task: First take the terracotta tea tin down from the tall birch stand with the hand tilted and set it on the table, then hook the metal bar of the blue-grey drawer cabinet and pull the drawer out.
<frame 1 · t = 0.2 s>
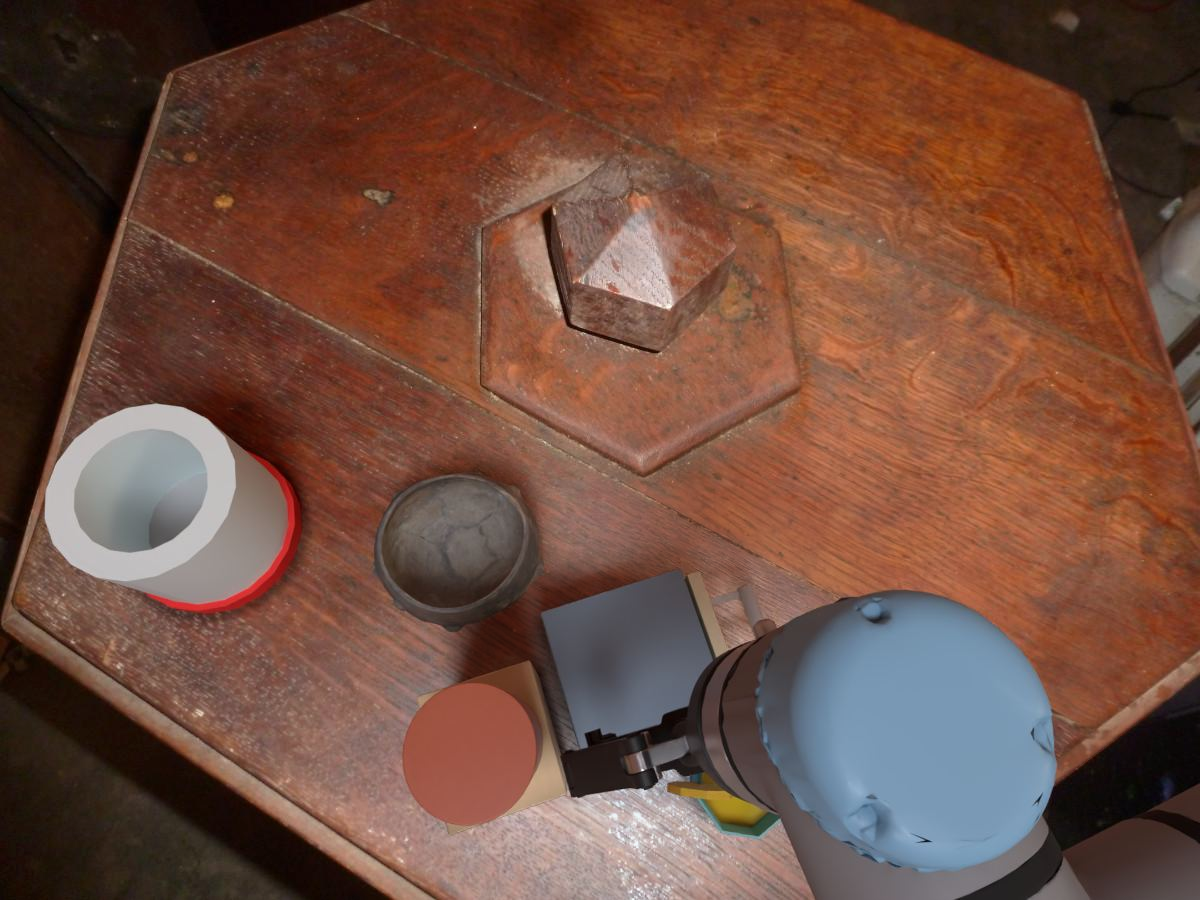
hand: (701, 723, 55), 18 cm above the table, tool pointing down, fingers open, 13 cm apart
drawer: (677, 644, 69), point 5 cm above the table, slide at 0.5 cm
stand: (510, 738, 71), on the table
cup: (727, 773, 71), on the table
bowl: (463, 562, 76), on the table
container: (219, 531, 76), on the table
cabinet: (624, 664, 73), on the table
tea tin: (490, 744, 52), point 20 cm above the table, touching stand
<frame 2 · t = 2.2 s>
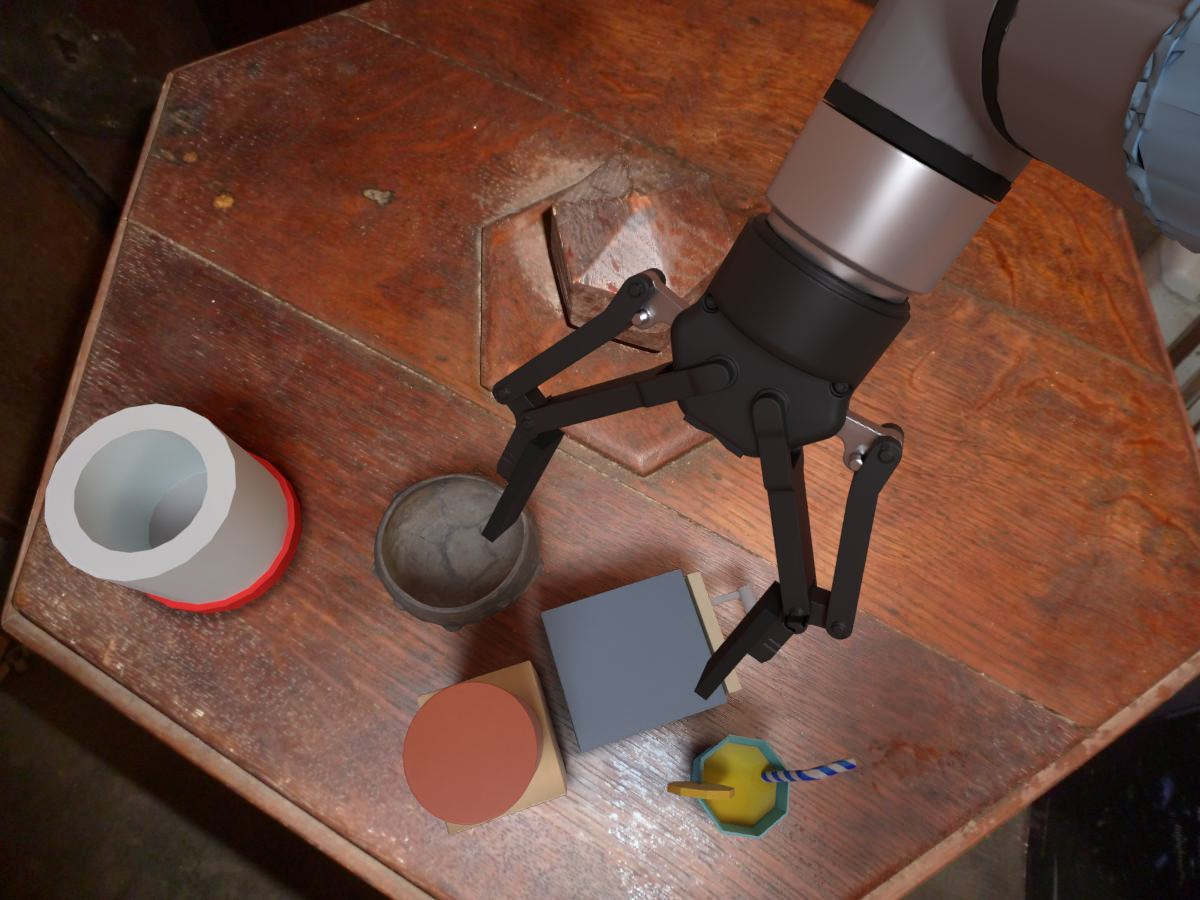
hand: (600, 602, 41), 34 cm above the table, tool tilted 45°, fingers open, 13 cm apart
nothing on the table moved.
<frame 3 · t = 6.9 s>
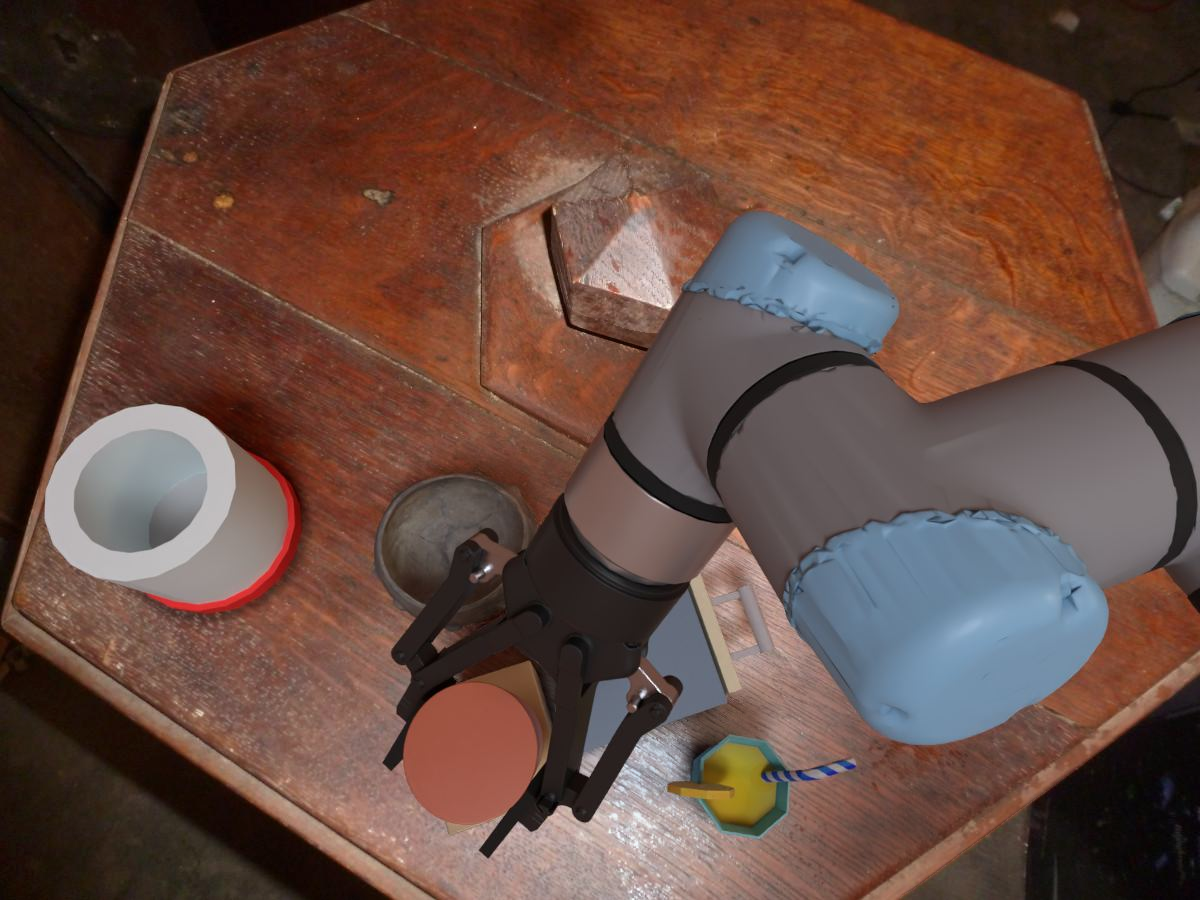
hand: (447, 794, 47), 24 cm above the table, tool tilted 45°, fingers closed on tea tin, 7 cm apart
tea tin: (491, 744, 52), point 20 cm above the table, touching gripper, stand
everything else where it was.
when the fingers open (4 cm above the table, at t = 21.4 s): tea tin stays where it is, on the table.
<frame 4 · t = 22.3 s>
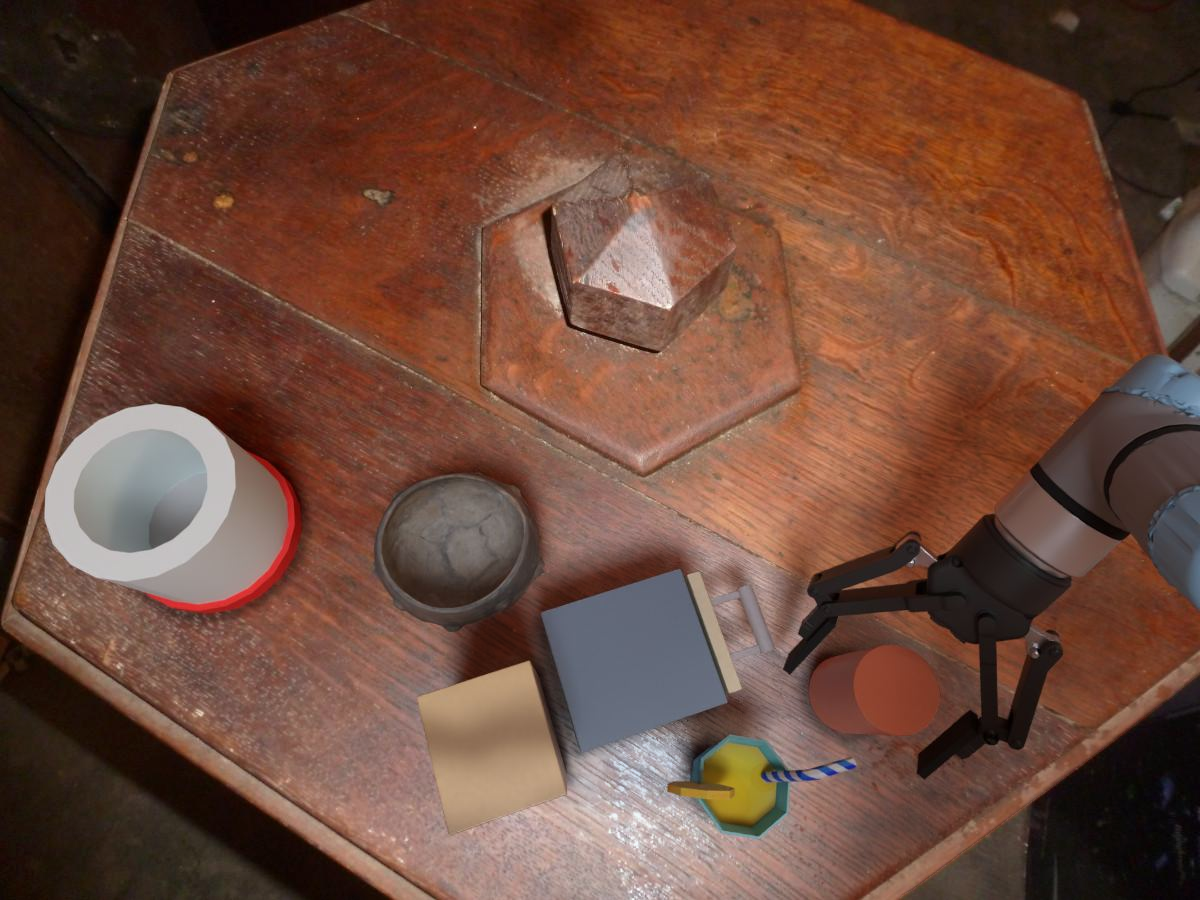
hand: (853, 714, 67), 6 cm above the table, tool tilted 45°, fingers open, 13 cm apart
tea tin: (845, 693, 73), on the table
everything else where it was.
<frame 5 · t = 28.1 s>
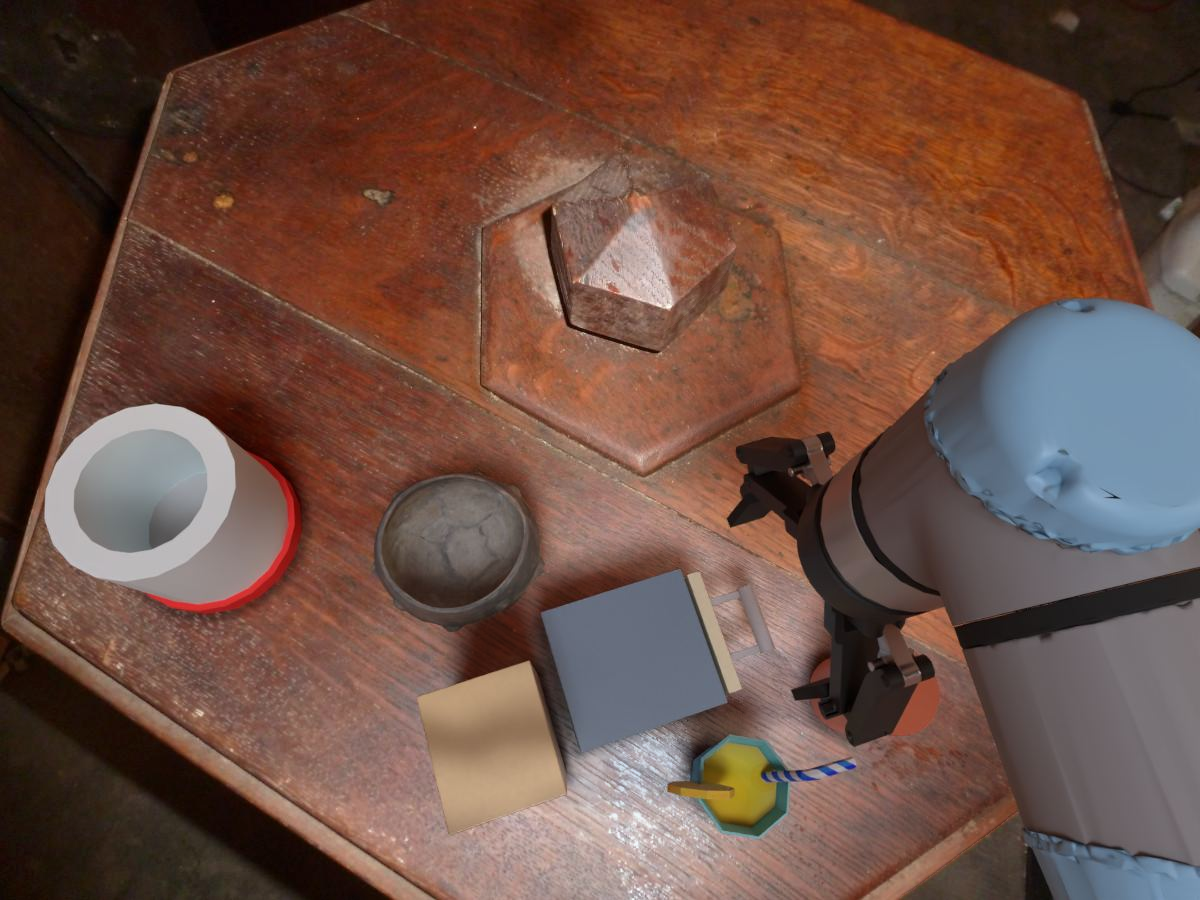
hand: (776, 600, 55), 20 cm above the table, tool pointing down, fingers open, 12 cm apart
nothing on the table moved.
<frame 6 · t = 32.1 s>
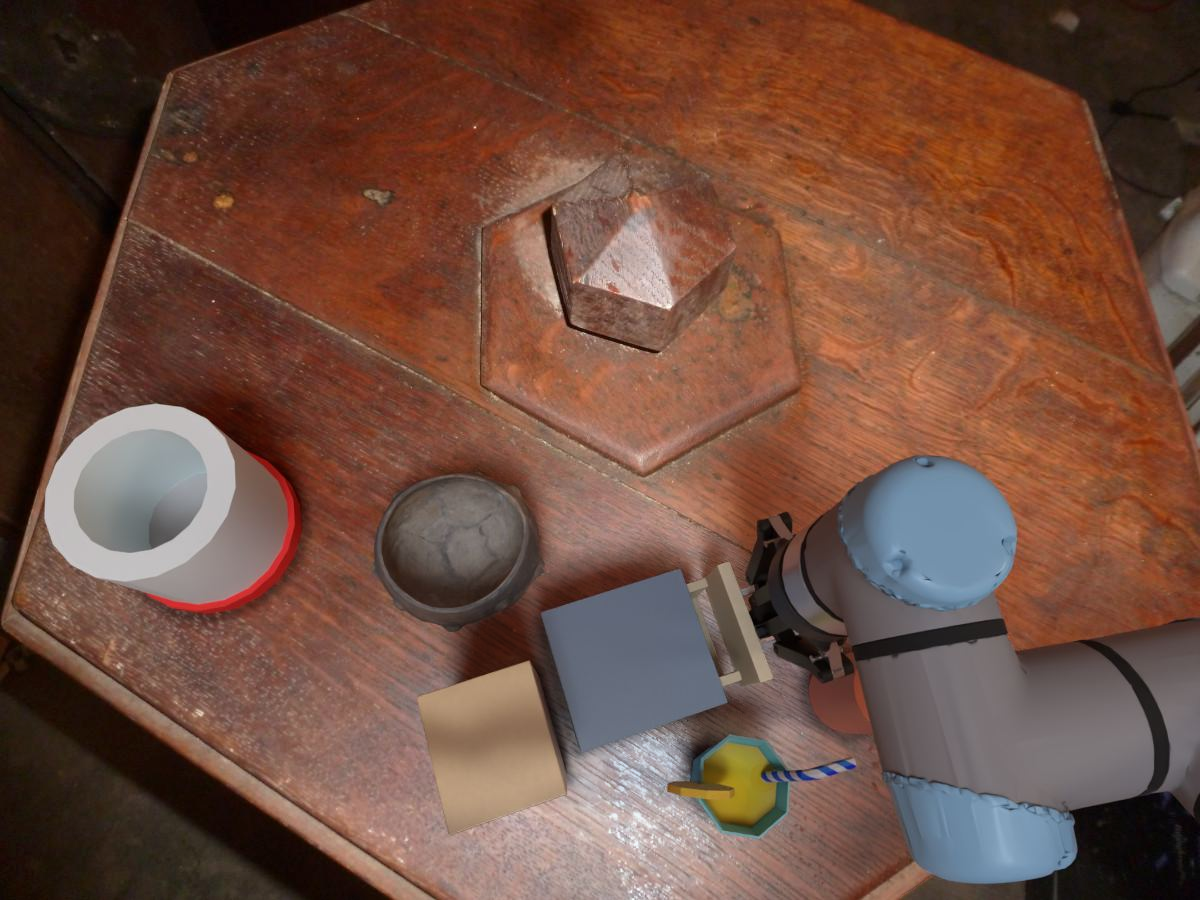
hand: (753, 620, 73), 2 cm above the table, tool pointing down, fingers closed
drawer: (706, 635, 70), point 5 cm above the table, slide at 3.3 cm, touching gripper
everything else where it was.
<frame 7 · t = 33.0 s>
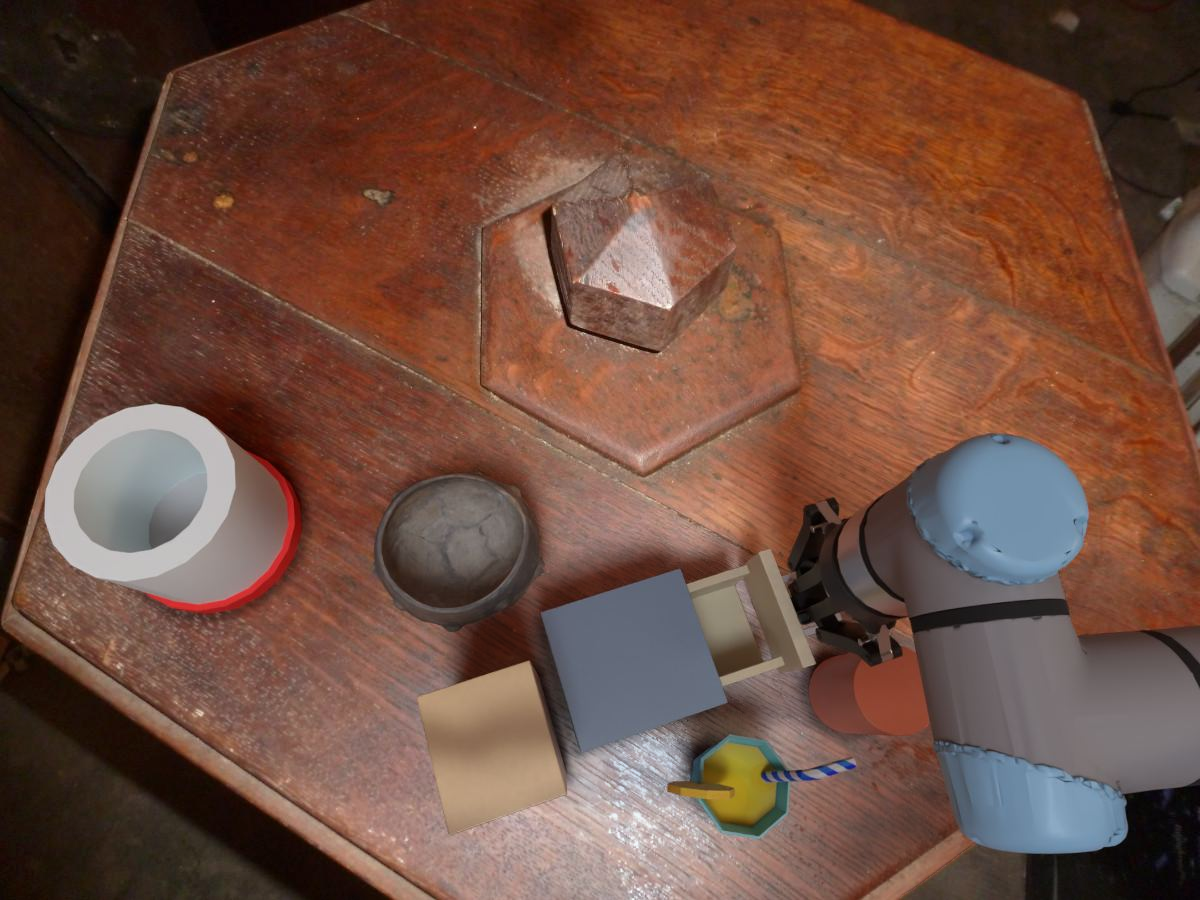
hand: (791, 608, 73), 2 cm above the table, tool pointing down, fingers closed
drawer: (746, 621, 70), point 5 cm above the table, slide at 7.3 cm, touching gripper
everything else where it was.
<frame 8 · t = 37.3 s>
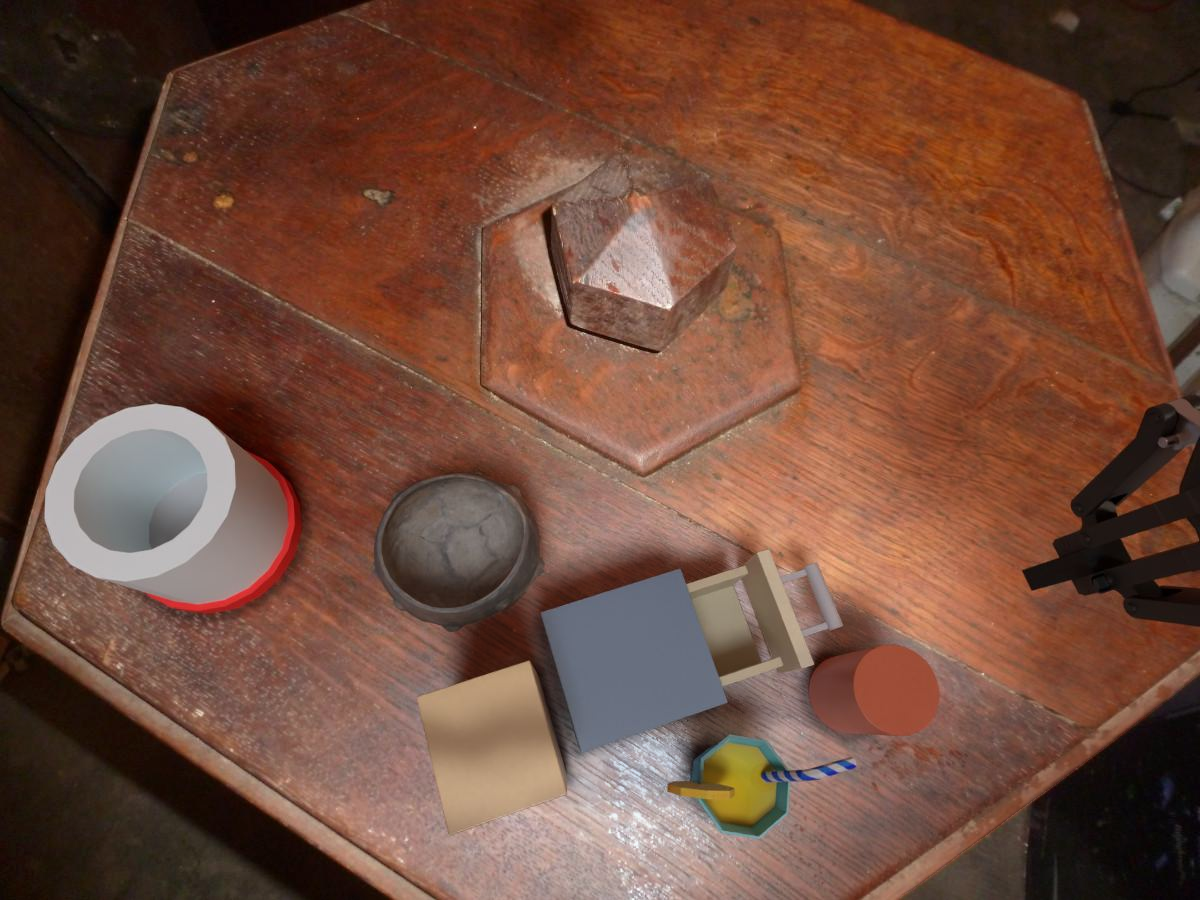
hand: (1044, 574, 53), 24 cm above the table, tool pointing down, fingers closed
drawer: (745, 622, 70), point 5 cm above the table, slide at 7.1 cm
everything else where it was.
at the end: tea tin inside the target area (0.1 cm from its centre), on the table; tea tin tilted 0°; drawer slide at 7.1 cm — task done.
